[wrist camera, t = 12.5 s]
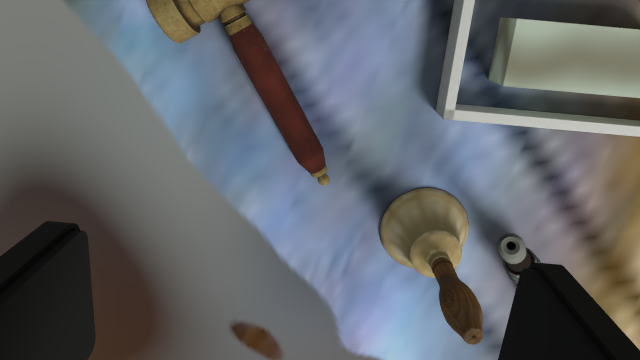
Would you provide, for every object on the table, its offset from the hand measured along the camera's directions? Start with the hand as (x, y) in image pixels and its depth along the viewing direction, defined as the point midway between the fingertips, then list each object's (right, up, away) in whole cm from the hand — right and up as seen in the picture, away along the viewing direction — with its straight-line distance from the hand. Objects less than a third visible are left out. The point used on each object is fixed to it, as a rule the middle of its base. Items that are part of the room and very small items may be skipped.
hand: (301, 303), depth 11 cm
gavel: (-4, +11, +32) cm, 34 cm away
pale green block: (+21, +13, +31) cm, 39 cm away
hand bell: (+10, -2, +36) cm, 38 cm away
